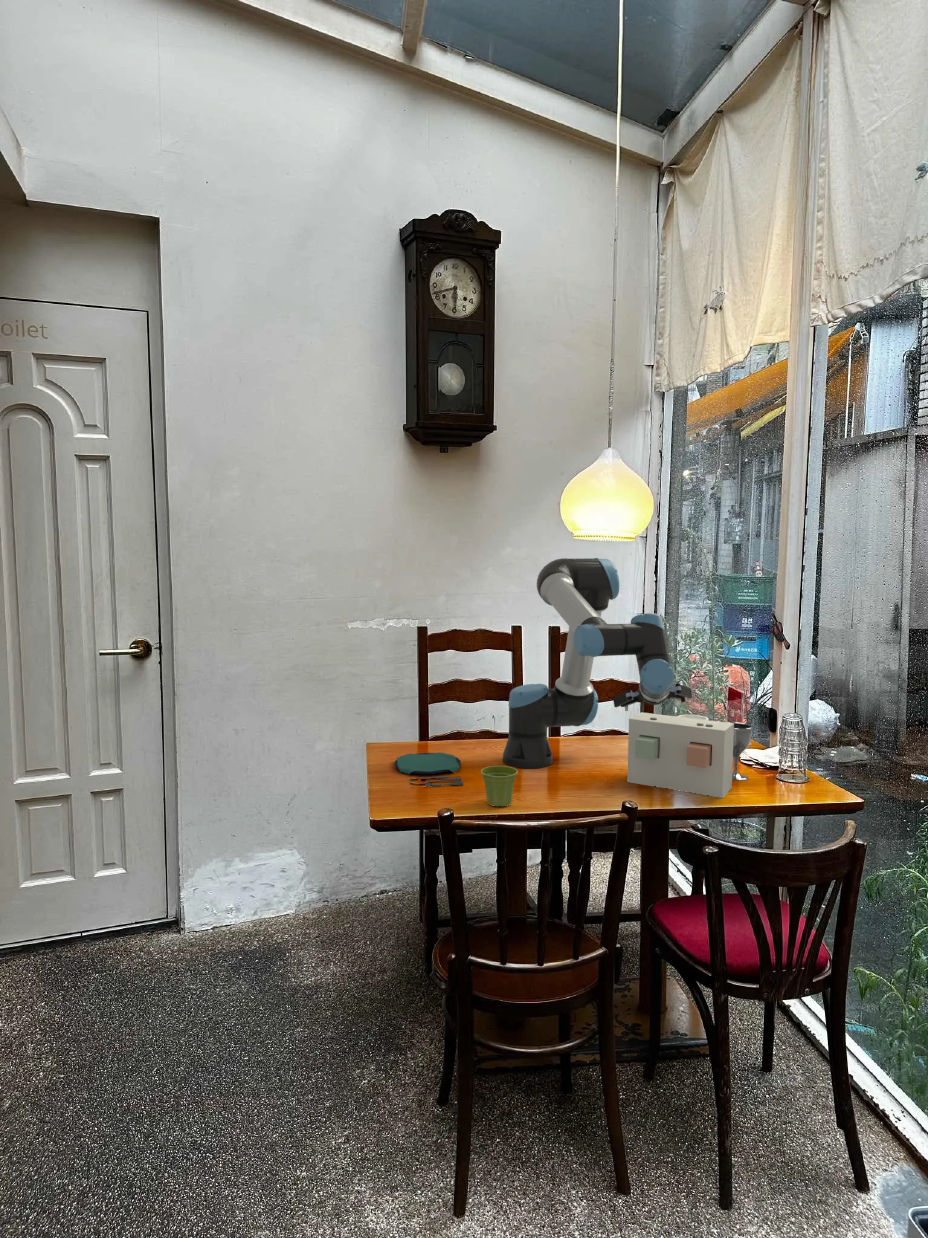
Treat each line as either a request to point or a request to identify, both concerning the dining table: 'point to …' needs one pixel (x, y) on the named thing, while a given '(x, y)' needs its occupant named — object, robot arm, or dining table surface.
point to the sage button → (647, 747)
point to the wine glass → (740, 745)
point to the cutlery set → (429, 766)
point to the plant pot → (499, 784)
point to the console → (682, 754)
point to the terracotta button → (699, 754)
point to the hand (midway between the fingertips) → (651, 703)
